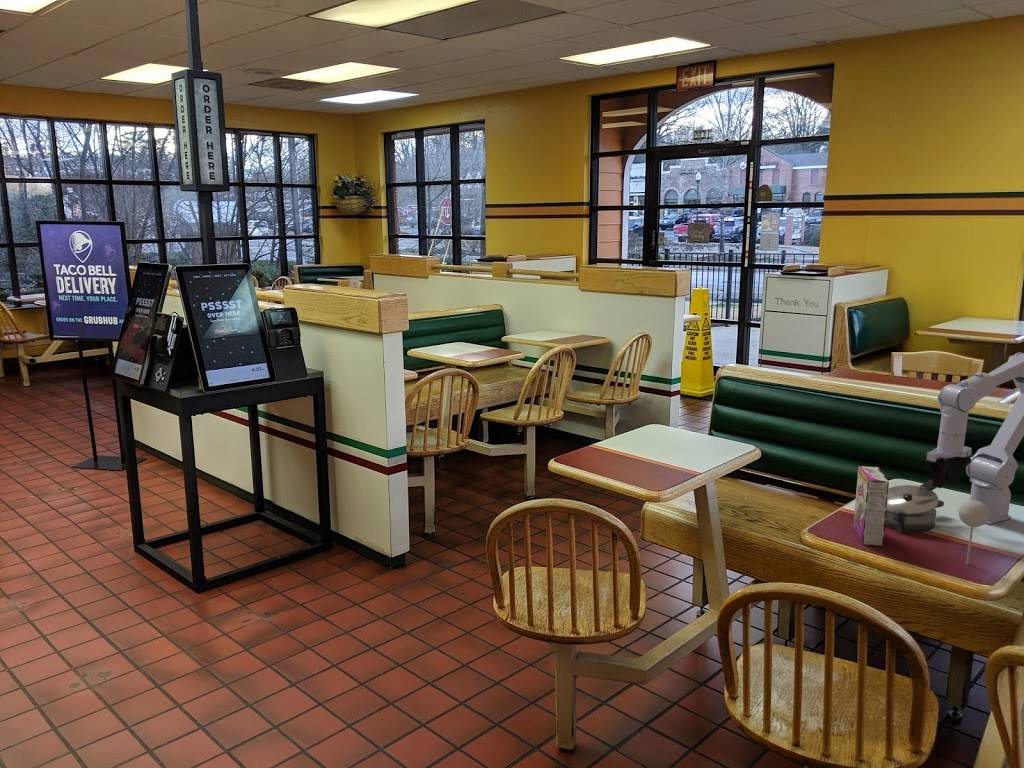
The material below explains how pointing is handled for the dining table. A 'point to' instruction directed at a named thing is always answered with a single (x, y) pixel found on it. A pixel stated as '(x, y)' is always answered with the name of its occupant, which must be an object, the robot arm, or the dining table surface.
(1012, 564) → the dining table surface
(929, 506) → the lid
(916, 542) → the dining table surface
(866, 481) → the candy bar box
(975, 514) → the lollipop
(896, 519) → the pot
